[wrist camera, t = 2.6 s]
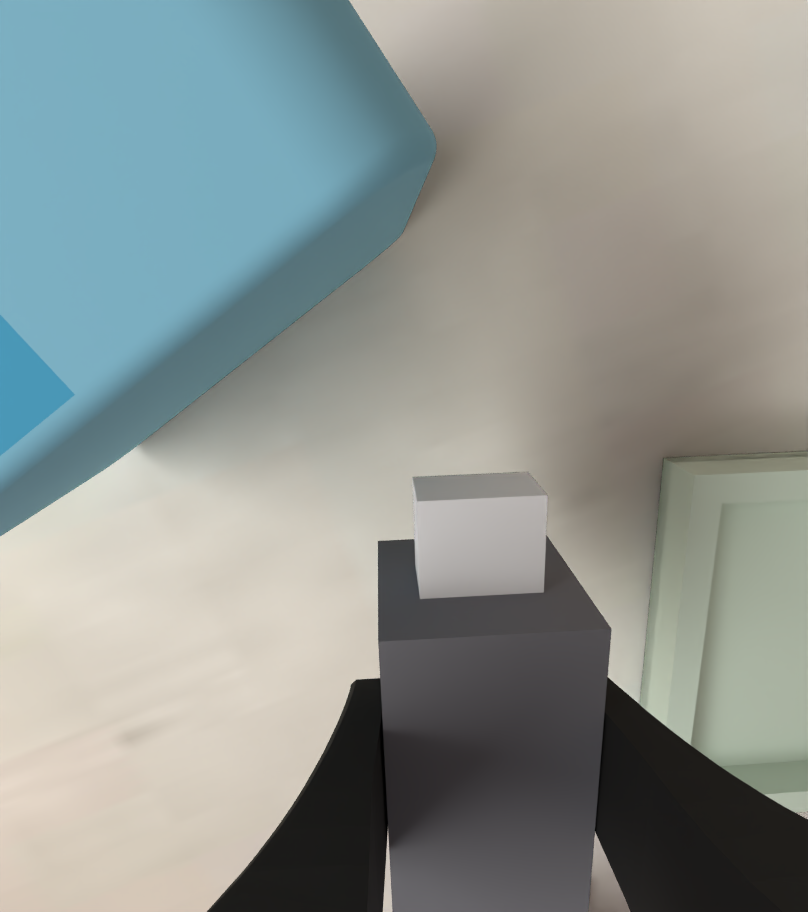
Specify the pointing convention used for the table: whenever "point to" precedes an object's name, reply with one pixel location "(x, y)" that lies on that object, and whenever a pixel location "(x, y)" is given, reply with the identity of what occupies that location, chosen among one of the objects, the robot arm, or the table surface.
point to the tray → (734, 616)
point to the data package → (176, 207)
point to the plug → (488, 703)
